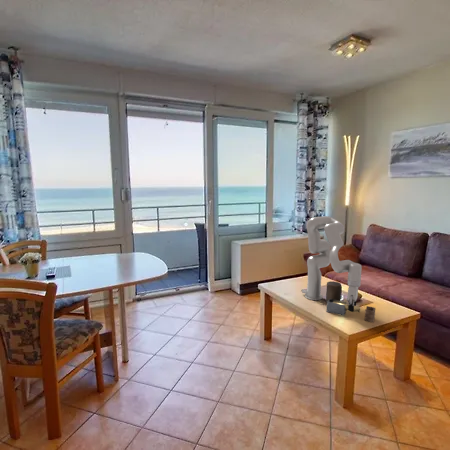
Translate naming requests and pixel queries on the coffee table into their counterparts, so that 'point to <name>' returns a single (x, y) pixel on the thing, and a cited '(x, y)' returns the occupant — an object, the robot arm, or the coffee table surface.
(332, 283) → the pillar candle
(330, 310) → the grey rectangular block
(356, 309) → the tube
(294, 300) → the coffee table surface
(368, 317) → the socket
